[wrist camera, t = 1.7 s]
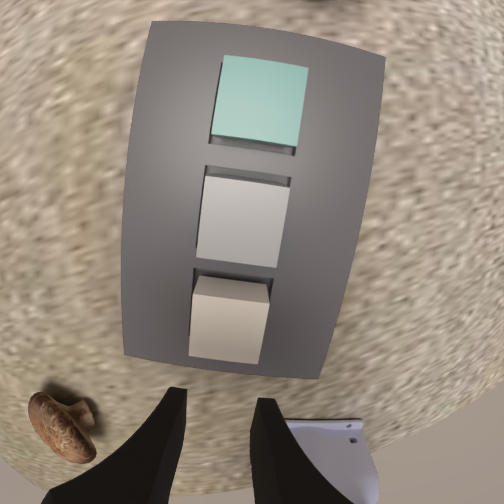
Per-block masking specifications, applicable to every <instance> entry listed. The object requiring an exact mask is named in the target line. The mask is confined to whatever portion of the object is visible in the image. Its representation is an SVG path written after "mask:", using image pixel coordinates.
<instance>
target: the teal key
mask: <svg viewBox="0 0 504 504" xmlns="http://www.w3.org/2000/svg"><path fill="white" fill-rule="evenodd" d="M307 76H308V68H307V67H302V66H297V65H292V64H286V63H281V62H275V61H269V60H262V59H255V58H247V57H239V56H230V55H224V60H223V65H222V71H221V76H220V82H219V88H218V94H217V100H216V106H215V112H214V119H213V125H212V132H211V134H212V135H214V136H215V137H218V138H227V139H235V140H242V141H249V142H256V143H263V144H269V145H276V146H282V147H287V148H291V147H297V143H298V136H299V130H300V123H301V117H302V110H303V103H304V96H305V90H306V83H307Z"/></svg>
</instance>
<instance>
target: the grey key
mask: <svg viewBox="0 0 504 504" xmlns="http://www.w3.org/2000/svg"><path fill="white" fill-rule="evenodd" d="M289 192H290V187H288V186H287V185H285V184H284V183H279V182H272V181H266V180H259V179H252V178H245V177H238V176H230V175H223V174H215V173H210V174H208V175H206V176H205V183H204V191H203V199H202V207H201V216H200V225H199V234H198V244H197V254H196V257H198V258H206V259H213V260H220V261H228V262H235V263H243V264H250V265H258V266H266V267H273V268H276V267H277V261H278V256H279V250H280V245H281V239H282V233H283V228H284V222H285V216H286V210H287V204H288V198H289Z"/></svg>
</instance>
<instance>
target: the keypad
mask: <svg viewBox="0 0 504 504" xmlns="http://www.w3.org/2000/svg"><path fill="white" fill-rule="evenodd" d="M224 55H230V56H239V57H247V58H255V59H262V60H269V61H275V62H281V63H286V64H292V65H297V66H302V67H307V68H308V76H307V83H306V90H305V96H304V103H303V110H302V117H301V123H300V130H299V136H298V143H297V147H291V148H287V147H282V146H276V145H269V144H263V143H256V142H249V141H242V140H235V139H227V138H218V137H215V136H214V135H212V134H211V132H212V125H213V119H214V112H215V106H216V100H217V94H218V88H219V82H220V76H221V71H222V65H223V60H224ZM385 58H386V57H383V56H380V55H377V54H374V53H371V52H368V51H365V50H362V49H358V48H355V47H351V46H348V45H344V44H341V43H337V42H333V41H329V40H325V39H321V38H316V37H312V36H307V35H302V34H297V33H292V32H287V31H281V30H275V29H269V28H262V27H255V26H247V25H238V24H227V23H214V22H196V21H152V23H151V27H150V31H149V35H148V39H147V43H146V47H145V52H144V56H143V61H142V66H141V71H140V76H139V81H138V86H137V92H136V98H135V104H134V110H133V116H132V123H131V130H130V138H129V146H128V154H127V164H126V174H125V186H124V199H123V216H122V240H121V305H122V328H123V345H124V355H126V356H131V357H136V358H141V359H146V360H151V361H157V362H162V363H168V364H174V365H180V366H186V367H193V368H200V369H207V370H214V371H222V372H231V373H240V374H250V375H260V376H272V377H286V378H303V379H318V378H319V375H320V372H321V369H322V366H323V363H324V360H325V357H326V354H327V351H328V348H329V344H330V341H331V338H332V335H333V331H334V328H335V325H336V321H337V318H338V314H339V311H340V307H341V304H342V300H343V296H344V293H345V289H346V285H347V281H348V277H349V273H350V269H351V265H352V261H353V257H354V253H355V249H356V245H357V240H358V236H359V231H360V227H361V222H362V217H363V212H364V207H365V202H366V197H367V192H368V187H369V181H370V176H371V170H372V164H373V158H374V152H375V145H376V139H377V132H378V124H379V117H380V109H381V100H382V91H383V81H384V70H385ZM210 173H215V174H223V175H230V176H238V177H245V178H252V179H259V180H266V181H272V182H279V183H284V184H285V185H287V186H288V187H290V192H289V198H288V204H287V210H286V216H285V222H284V228H283V233H282V239H281V245H280V250H279V256H278V261H277V267H276V268H273V267H266V266H258V265H250V264H243V263H235V262H228V261H220V260H213V259H206V258H198V257H196V254H197V244H198V234H199V225H200V216H201V207H202V199H203V191H204V183H205V176H206V175H208V174H210ZM199 276H207V277H214V278H221V279H229V280H236V281H244V282H252V283H260V284H266V285H267V291H268V297H269V303H270V305H269V310H268V315H267V320H266V325H265V331H264V336H263V341H262V346H261V351H260V356H259V361H258V364H249V363H240V362H231V361H223V360H215V359H207V358H200V357H193V356H189V341H190V326H191V312H192V299H193V292H194V289H195V286H196V284H197V281H198V278H199Z"/></svg>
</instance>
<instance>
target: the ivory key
mask: <svg viewBox="0 0 504 504" xmlns="http://www.w3.org/2000/svg"><path fill="white" fill-rule="evenodd" d="M269 305H270V303H269V297H268V291H267V285H266V284H260V283H252V282H244V281H236V280H229V279H221V278H214V277H207V276H199V278H198V281H197V284H196V286H195V289H194V292H193V299H192V312H191V326H190V341H189V356H193V357H200V358H207V359H215V360H223V361H231V362H240V363H249V364H258V361H259V356H260V351H261V346H262V341H263V336H264V331H265V325H266V320H267V315H268V310H269Z"/></svg>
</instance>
